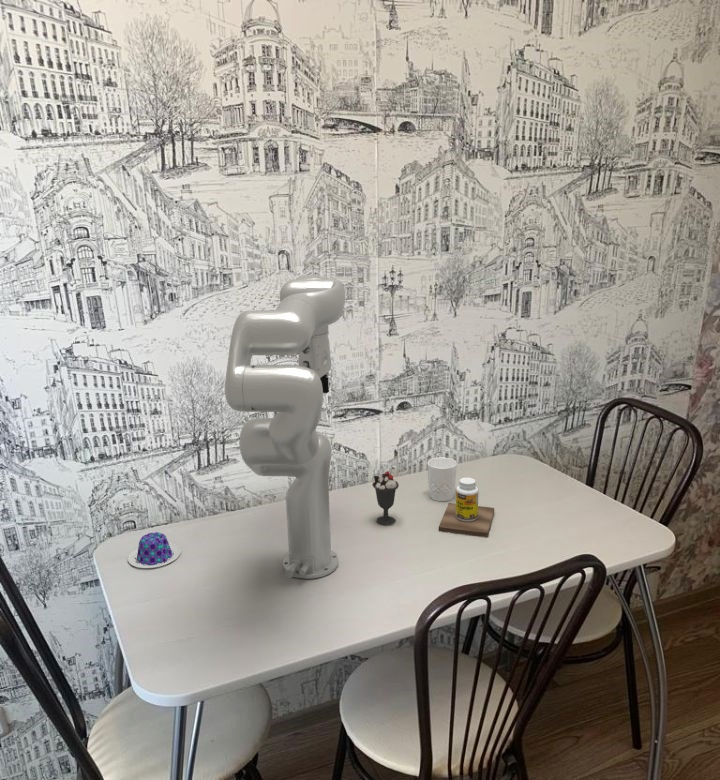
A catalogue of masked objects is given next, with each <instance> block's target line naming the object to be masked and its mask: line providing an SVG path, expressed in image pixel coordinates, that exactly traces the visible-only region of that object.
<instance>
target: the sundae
mask: <svg viewBox="0 0 720 780" xmlns="http://www.w3.org/2000/svg"><path fill="white" fill-rule="evenodd" d="M394 469H395V467H393V466H391V468H390V469H389V470H388V471H385V473H382V474H381V475H380V476H379V475H374V476H373V480H374V482H372V488H374V489H375V494H376V495H375V496H376V501H377V505H378V507H380V508H381V509H383V514H382V516H379V517H377V519H376V520H375V521H376V523H377V524H378V525H381V526H391V525H393V524H395V523H396V519H395V518H394V517H393V516H389V509H391V508H392V507H393V506H394V504H395V503H394V502H395V497H396V491H397V489H399V483H398V481H396V480H395V479H394V475H392V474H391V473H392V470H394Z"/></svg>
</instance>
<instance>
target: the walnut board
mask: <svg viewBox="0 0 720 780" xmlns="http://www.w3.org/2000/svg"><path fill="white" fill-rule="evenodd" d="M445 508H446V509H445V511H444V513H443V516H442V518H441V520H440V523H439V524H438V525H439V526H438V532H440V531H442V532H441V533H448V532H450V533H451V534H456V535H457V534H458V535H465V536H466V535H467V536H474V537H483V538H488V537H489V533H490V529H491V525H492V522H493V518H494V514H495V507H491V506H490V507H489V506H481V505H478V517H477V519H476V520H474V521H470V522H465V521H461V520H459V519H457V517H456V502H455V503H454V502H453V503H452V502H448V503H447V506H446V507H445ZM450 533H449V534H450Z"/></svg>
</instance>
